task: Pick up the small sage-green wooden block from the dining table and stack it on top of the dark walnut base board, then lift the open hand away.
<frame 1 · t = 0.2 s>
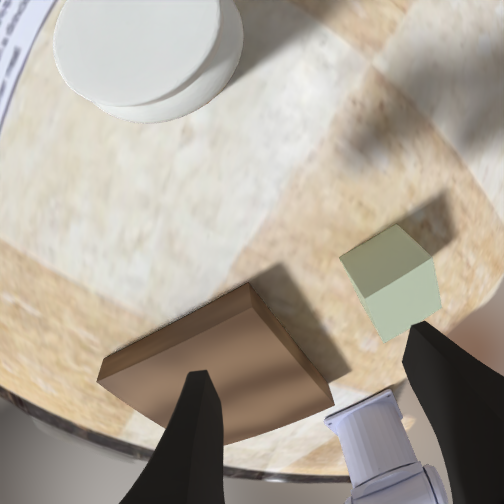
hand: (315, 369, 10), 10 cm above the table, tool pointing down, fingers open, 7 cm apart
supplement bottle: (182, 62, 13), on the table
walnut base: (220, 378, 24), on the table
sage block: (377, 264, 20), on the table
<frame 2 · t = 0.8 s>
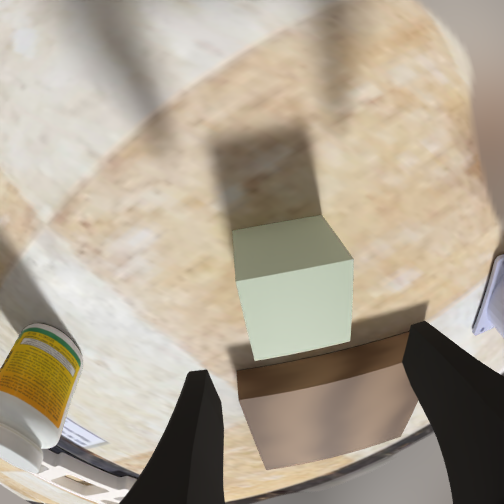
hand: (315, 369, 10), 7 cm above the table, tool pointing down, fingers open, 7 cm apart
supplement bottle: (53, 346, 19), on the table
walnut base: (333, 403, 24), on the table
sage block: (282, 260, 16), on the table
holder: (24, 440, 29), on the table
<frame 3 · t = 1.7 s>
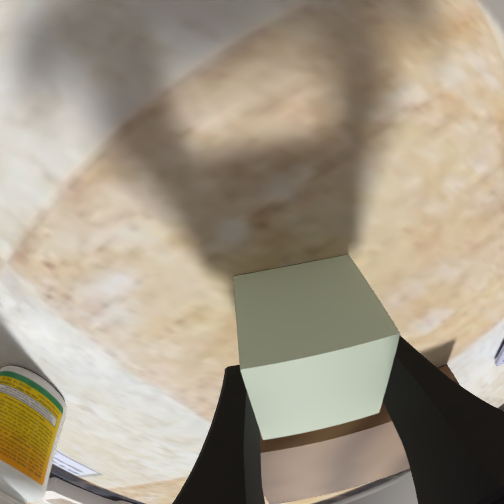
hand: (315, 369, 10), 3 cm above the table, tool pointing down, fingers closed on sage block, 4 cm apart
supplement bottle: (33, 387, 15), on the table
walnut base: (344, 441, 20), on the table
sage block: (296, 310, 13), on the table, touching gripper
holder: (16, 461, 25), on the table
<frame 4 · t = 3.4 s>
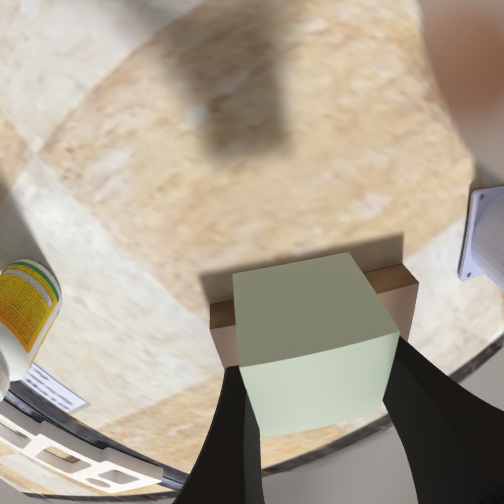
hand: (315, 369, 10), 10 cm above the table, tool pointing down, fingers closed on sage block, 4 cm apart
supplement bottle: (36, 285, 19), on the table
walnut base: (316, 352, 24), on the table
sage block: (296, 308, 13), point 7 cm above the table, touching gripper
holder: (9, 410, 29), on the table
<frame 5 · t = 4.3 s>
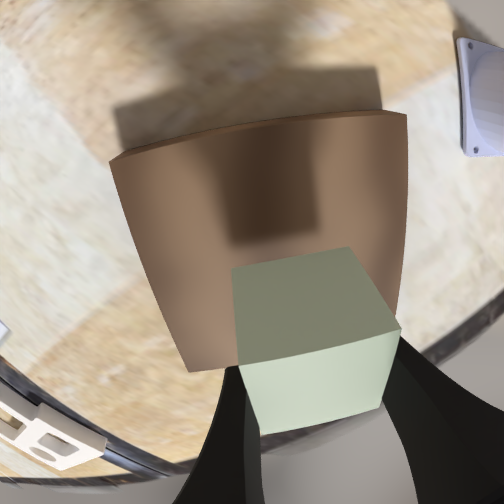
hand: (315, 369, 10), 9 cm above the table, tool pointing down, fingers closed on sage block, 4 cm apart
walnut base: (275, 243, 18), on the table
sage block: (295, 302, 13), point 6 cm above the table, touching gripper
when the fingers open (7 cm above the table, at t = 5.1 s): sage block drops 1 cm, resting on walnut base.
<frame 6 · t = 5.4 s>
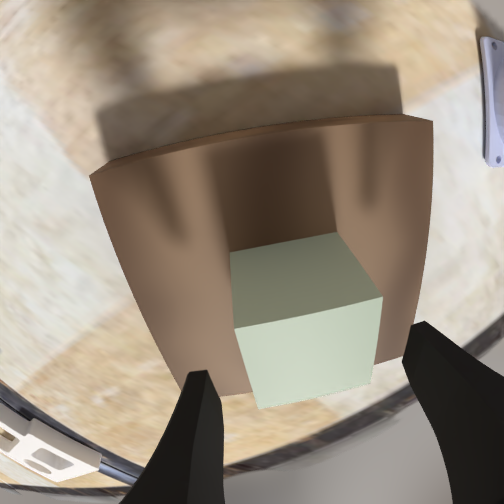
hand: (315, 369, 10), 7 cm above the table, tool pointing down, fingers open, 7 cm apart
walnut base: (282, 264, 16), on the table
sage block: (290, 286, 14), point 2 cm above the table, touching walnut base
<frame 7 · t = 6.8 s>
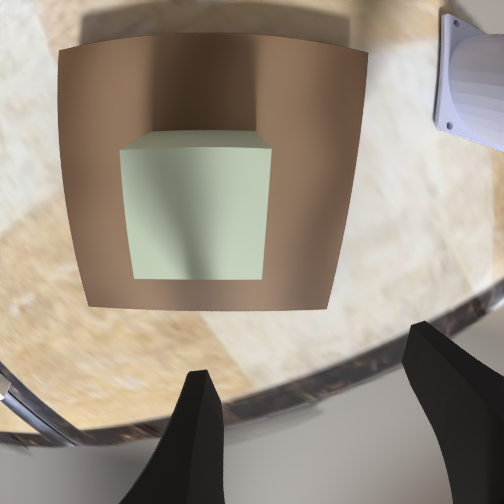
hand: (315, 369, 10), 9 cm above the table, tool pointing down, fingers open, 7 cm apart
walnut base: (206, 173, 16), on the table
sage block: (202, 179, 13), point 2 cm above the table, touching walnut base
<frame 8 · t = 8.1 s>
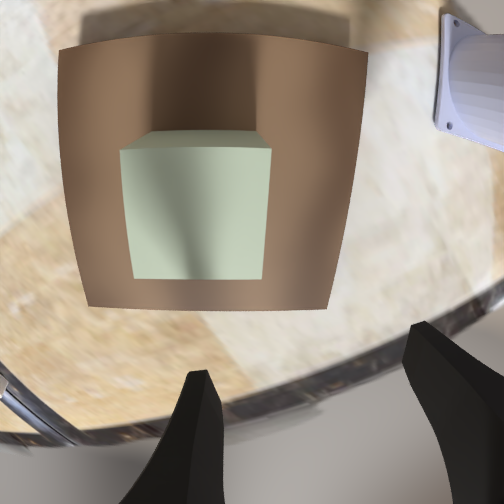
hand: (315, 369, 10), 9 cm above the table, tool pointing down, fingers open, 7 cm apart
walnut base: (206, 173, 16), on the table
sage block: (202, 179, 13), point 2 cm above the table, touching walnut base
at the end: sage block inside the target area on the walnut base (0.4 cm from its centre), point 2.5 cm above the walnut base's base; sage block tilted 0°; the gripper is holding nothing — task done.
